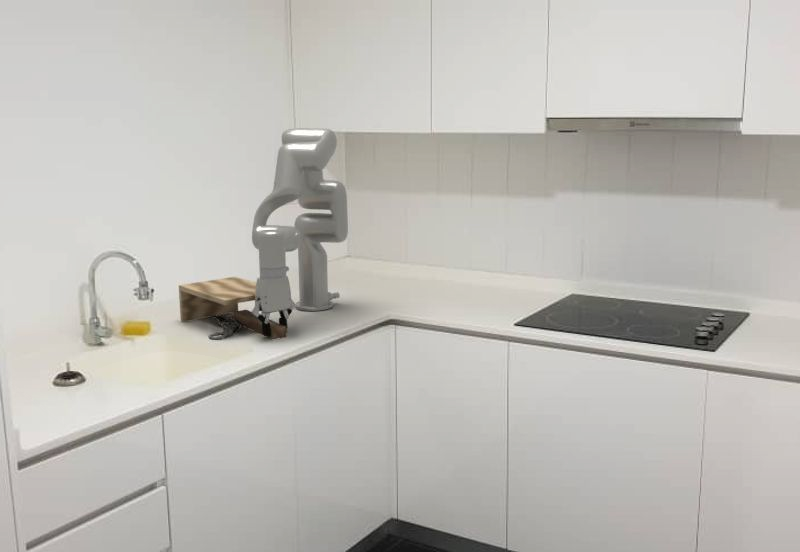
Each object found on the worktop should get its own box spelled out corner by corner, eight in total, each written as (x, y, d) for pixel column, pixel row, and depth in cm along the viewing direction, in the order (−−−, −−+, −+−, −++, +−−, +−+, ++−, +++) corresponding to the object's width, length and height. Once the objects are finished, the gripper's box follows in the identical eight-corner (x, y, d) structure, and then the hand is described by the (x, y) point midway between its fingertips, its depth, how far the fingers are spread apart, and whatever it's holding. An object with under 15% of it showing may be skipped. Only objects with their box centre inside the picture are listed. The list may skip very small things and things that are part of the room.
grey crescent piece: (209, 314, 265) (240, 310, 266) (209, 318, 265) (241, 315, 267) (204, 338, 237) (239, 334, 239) (204, 343, 238) (239, 340, 239)
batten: (246, 309, 261) (232, 311, 258) (286, 326, 240) (271, 329, 238) (246, 319, 262) (233, 321, 259) (286, 337, 241) (272, 339, 238)
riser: (236, 310, 273) (234, 276, 270) (284, 327, 252) (283, 290, 250) (180, 321, 260) (178, 285, 257) (226, 339, 239) (224, 300, 237)
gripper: (289, 267, 246) (291, 326, 250) (240, 274, 235) (242, 336, 239) (304, 270, 241) (306, 331, 245) (254, 278, 230) (257, 341, 233)
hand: (274, 333), depth 242 cm, fingers closed on batten, 5 cm apart
